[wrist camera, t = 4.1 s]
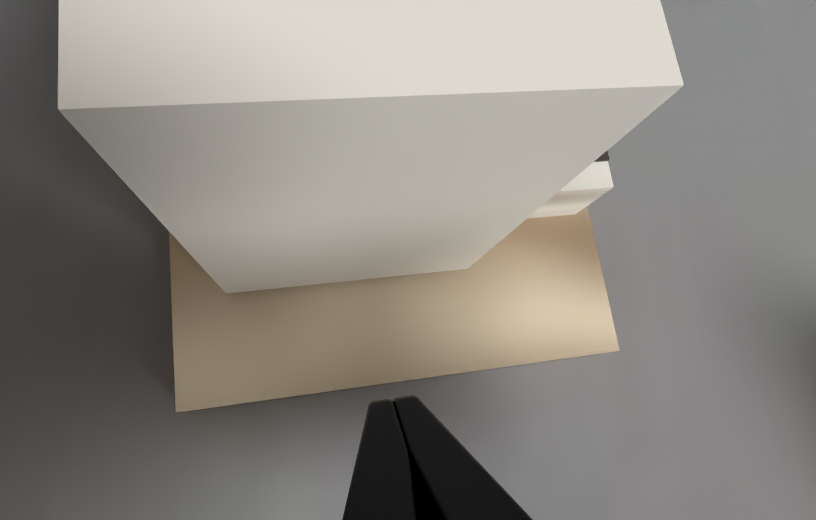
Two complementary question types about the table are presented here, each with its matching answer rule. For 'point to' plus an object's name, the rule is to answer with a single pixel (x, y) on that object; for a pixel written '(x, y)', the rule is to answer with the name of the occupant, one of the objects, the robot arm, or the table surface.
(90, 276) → the table surface
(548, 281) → the base
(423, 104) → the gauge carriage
